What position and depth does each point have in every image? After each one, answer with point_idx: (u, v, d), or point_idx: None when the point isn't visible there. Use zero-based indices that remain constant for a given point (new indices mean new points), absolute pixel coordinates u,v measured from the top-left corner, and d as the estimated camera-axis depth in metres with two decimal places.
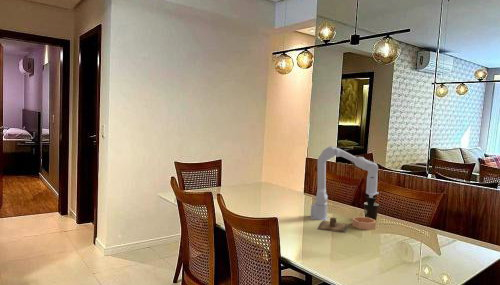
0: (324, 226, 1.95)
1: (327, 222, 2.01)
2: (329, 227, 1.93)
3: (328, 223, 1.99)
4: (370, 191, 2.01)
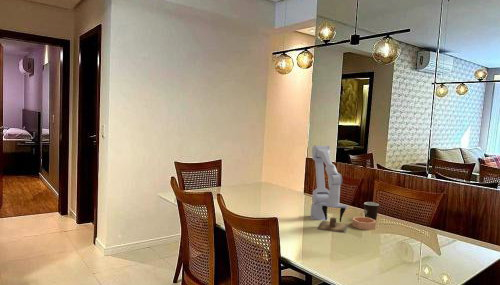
0: (324, 226, 1.95)
1: (327, 222, 2.01)
2: (329, 227, 1.93)
3: (328, 223, 1.99)
4: None
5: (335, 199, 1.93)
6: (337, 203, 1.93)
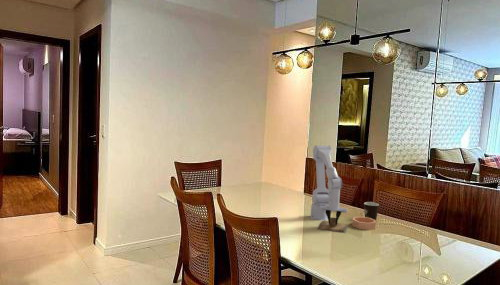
0: (324, 226, 1.95)
1: (327, 222, 2.01)
2: (329, 227, 1.93)
3: (328, 223, 1.99)
4: None
5: (335, 203, 1.93)
6: (337, 207, 1.94)
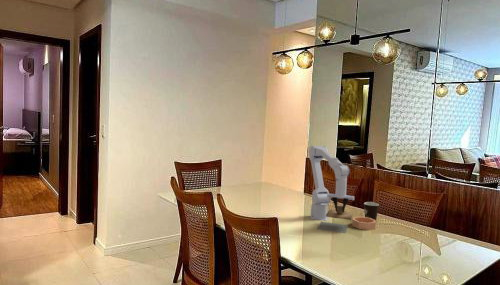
0: (331, 214, 1.95)
1: (334, 211, 2.02)
2: (336, 215, 1.93)
3: (335, 212, 2.00)
4: None
5: (342, 190, 1.93)
6: (344, 194, 1.94)
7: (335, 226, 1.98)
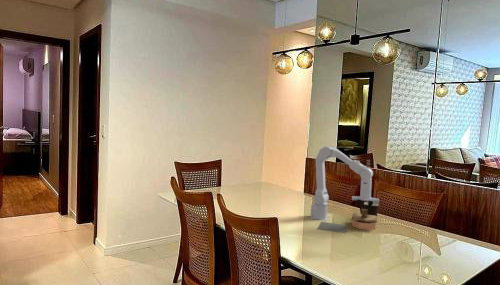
0: (356, 217, 1.98)
1: (358, 214, 2.05)
2: (361, 218, 1.97)
3: (359, 215, 2.03)
4: None
5: (367, 193, 1.97)
6: (369, 197, 1.97)
7: (335, 226, 1.98)
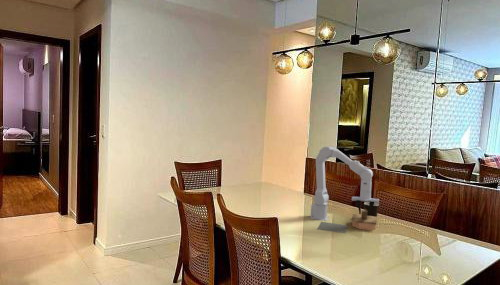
0: (356, 219, 1.98)
1: (358, 215, 2.05)
2: (361, 220, 1.97)
3: (359, 216, 2.03)
4: None
5: (367, 193, 1.97)
6: (369, 197, 1.97)
7: (335, 226, 1.98)
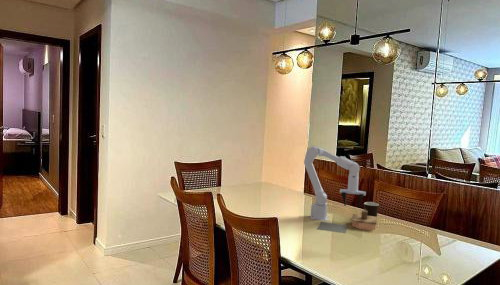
0: (356, 219, 1.98)
1: (358, 215, 2.05)
2: (361, 220, 1.97)
3: (359, 216, 2.03)
4: None
5: (354, 186, 2.05)
6: (356, 189, 2.06)
7: (335, 226, 1.98)
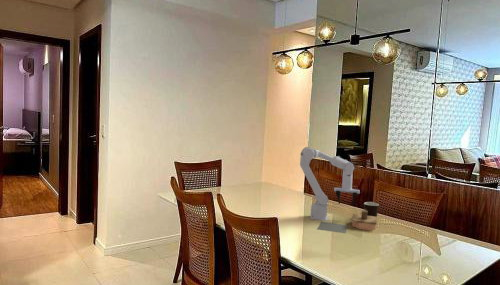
0: (356, 219, 1.98)
1: (358, 215, 2.05)
2: (361, 220, 1.97)
3: (359, 216, 2.03)
4: None
5: (348, 184, 2.10)
6: (350, 188, 2.10)
7: (335, 226, 1.98)
